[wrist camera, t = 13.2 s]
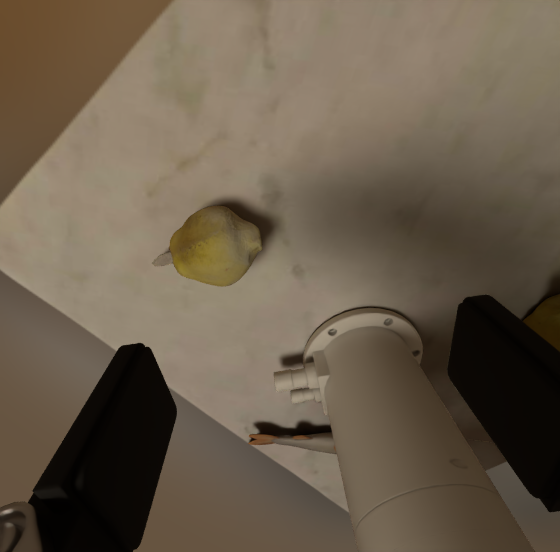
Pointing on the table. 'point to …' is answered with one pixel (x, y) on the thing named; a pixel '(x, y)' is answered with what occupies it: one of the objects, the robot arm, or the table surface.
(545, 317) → the mug
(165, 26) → the table surface
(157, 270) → the table surface
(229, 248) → the fruit
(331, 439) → the fish
